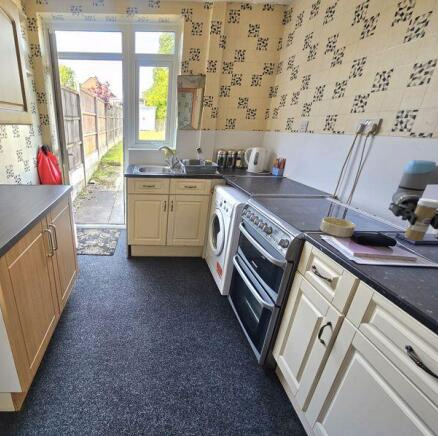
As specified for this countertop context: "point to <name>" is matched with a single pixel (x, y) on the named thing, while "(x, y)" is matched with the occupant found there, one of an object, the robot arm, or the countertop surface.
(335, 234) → the beige round bowl
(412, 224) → the robot arm
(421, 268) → the countertop surface
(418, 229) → the sprinkles bottle
